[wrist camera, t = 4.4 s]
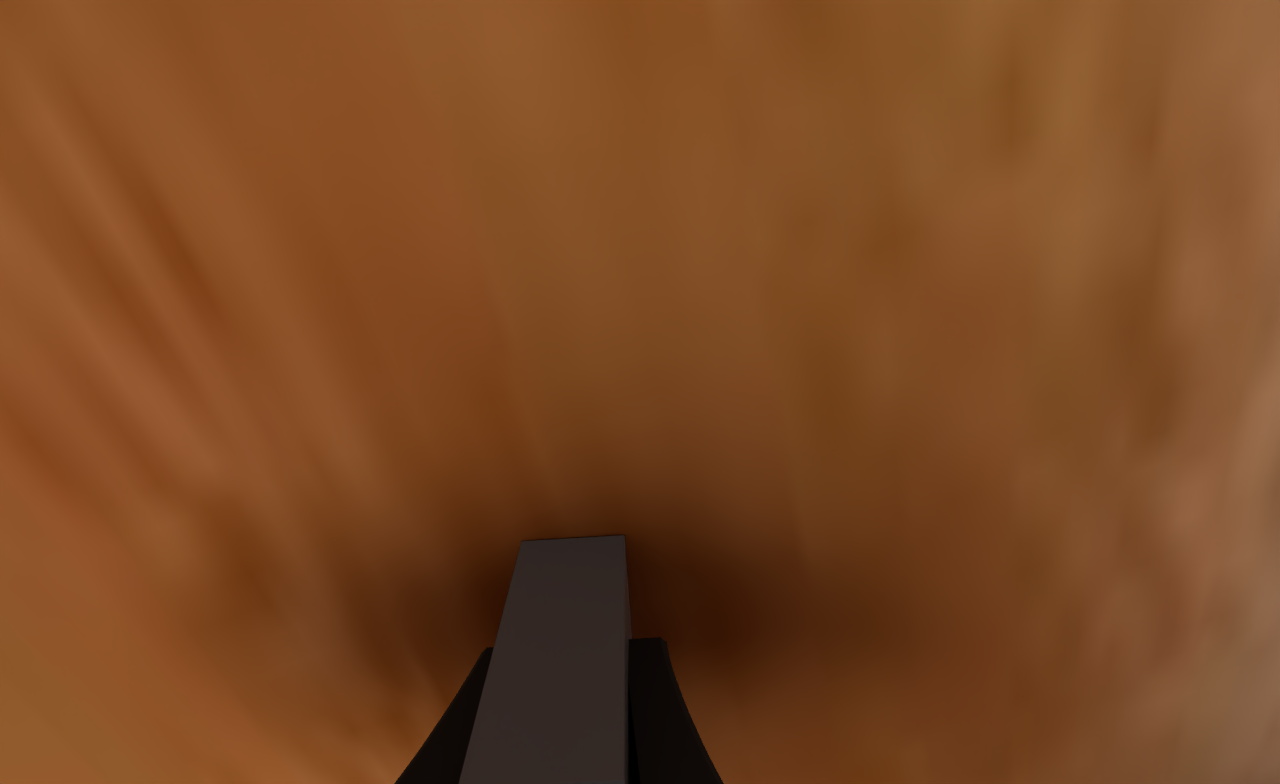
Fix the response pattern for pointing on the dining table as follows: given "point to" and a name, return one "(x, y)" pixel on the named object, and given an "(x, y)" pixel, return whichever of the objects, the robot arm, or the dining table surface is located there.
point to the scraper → (559, 671)
